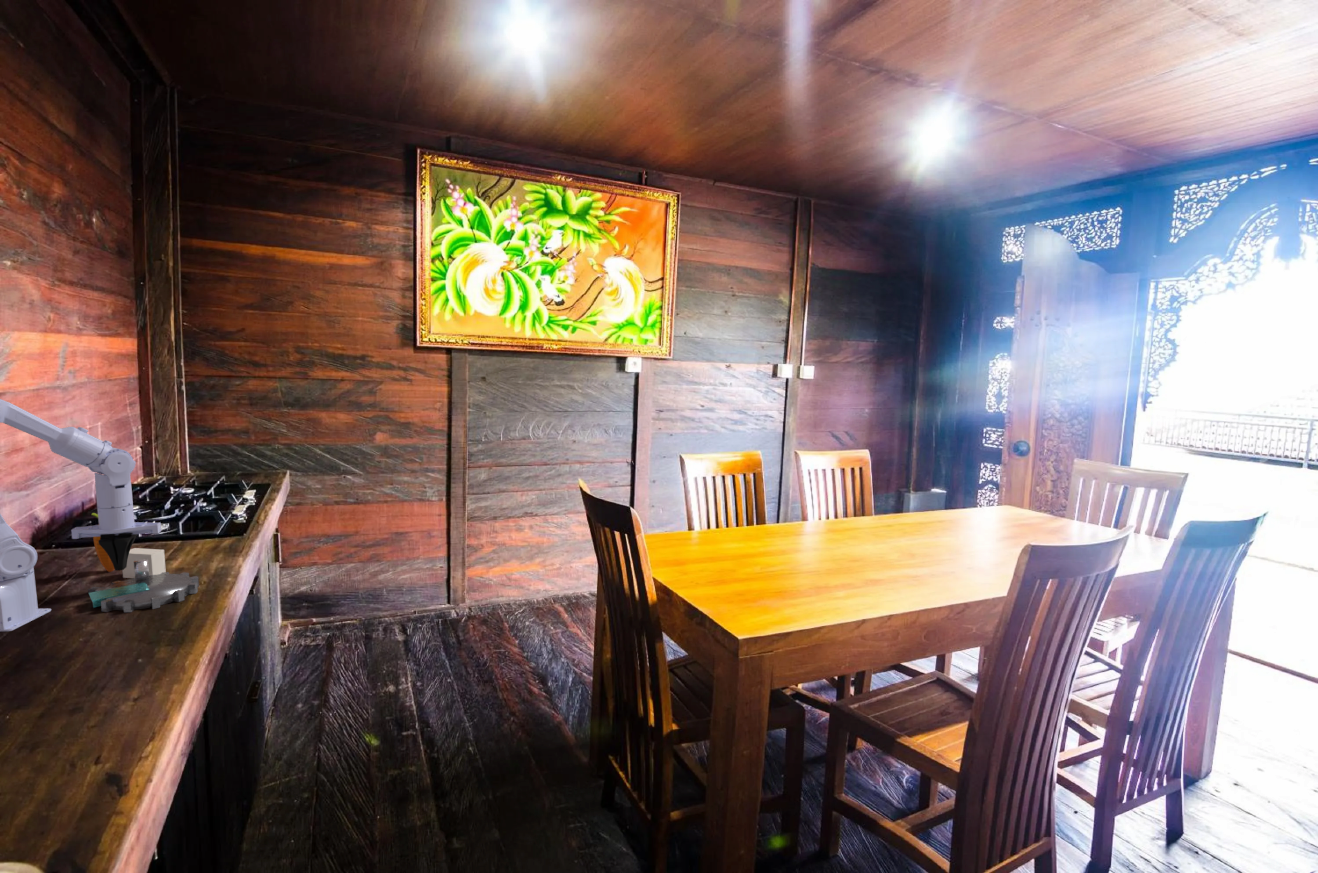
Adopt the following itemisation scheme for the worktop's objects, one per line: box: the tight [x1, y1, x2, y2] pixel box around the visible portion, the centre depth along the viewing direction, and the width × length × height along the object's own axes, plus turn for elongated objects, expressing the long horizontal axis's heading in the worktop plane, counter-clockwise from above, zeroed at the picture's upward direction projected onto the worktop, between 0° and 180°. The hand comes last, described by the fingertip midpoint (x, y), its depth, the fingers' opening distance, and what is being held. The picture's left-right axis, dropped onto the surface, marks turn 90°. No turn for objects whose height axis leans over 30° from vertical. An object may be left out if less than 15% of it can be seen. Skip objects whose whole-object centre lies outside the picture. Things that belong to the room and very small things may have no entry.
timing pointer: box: [87, 586, 106, 595], centre depth 139 cm, size 3×1×1 cm, turn 86°
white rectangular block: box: [122, 547, 167, 579], centre depth 149 cm, size 7×4×6 cm, turn 86°
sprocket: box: [88, 559, 200, 614], centre depth 138 cm, size 17×17×6 cm
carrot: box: [91, 512, 115, 573], centre depth 150 cm, size 5×5×15 cm
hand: (120, 568), depth 140 cm, fingers closed
